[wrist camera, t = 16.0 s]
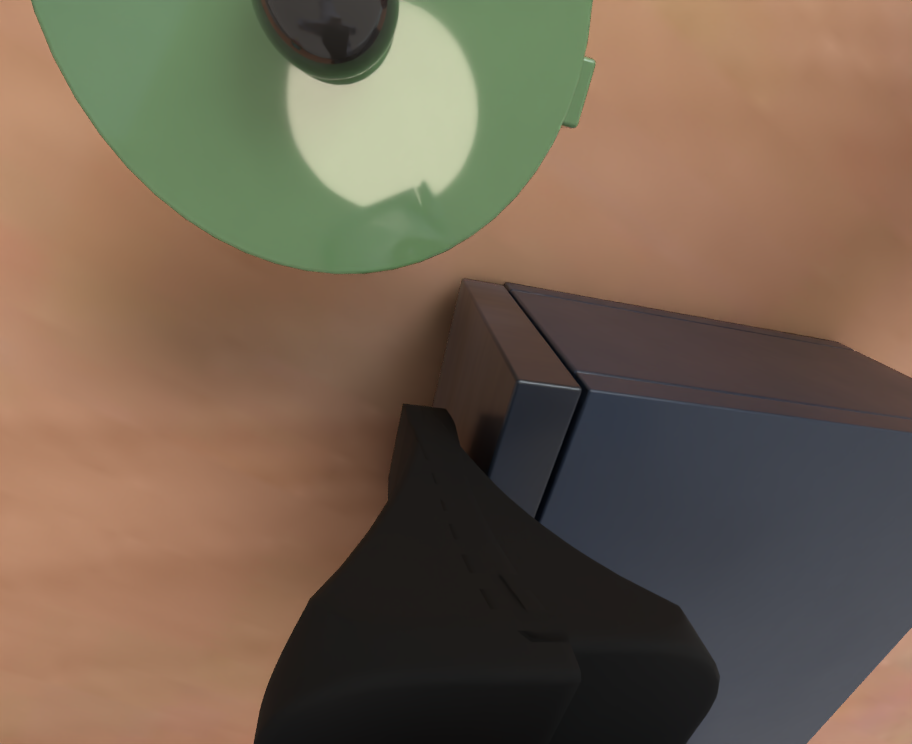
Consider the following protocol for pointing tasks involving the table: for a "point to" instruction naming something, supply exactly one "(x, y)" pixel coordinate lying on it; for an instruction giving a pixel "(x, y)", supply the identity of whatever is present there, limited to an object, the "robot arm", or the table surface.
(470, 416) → the drawer
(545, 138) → the pot
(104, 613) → the table surface
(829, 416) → the cabinet
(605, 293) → the table surface
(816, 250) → the table surface
